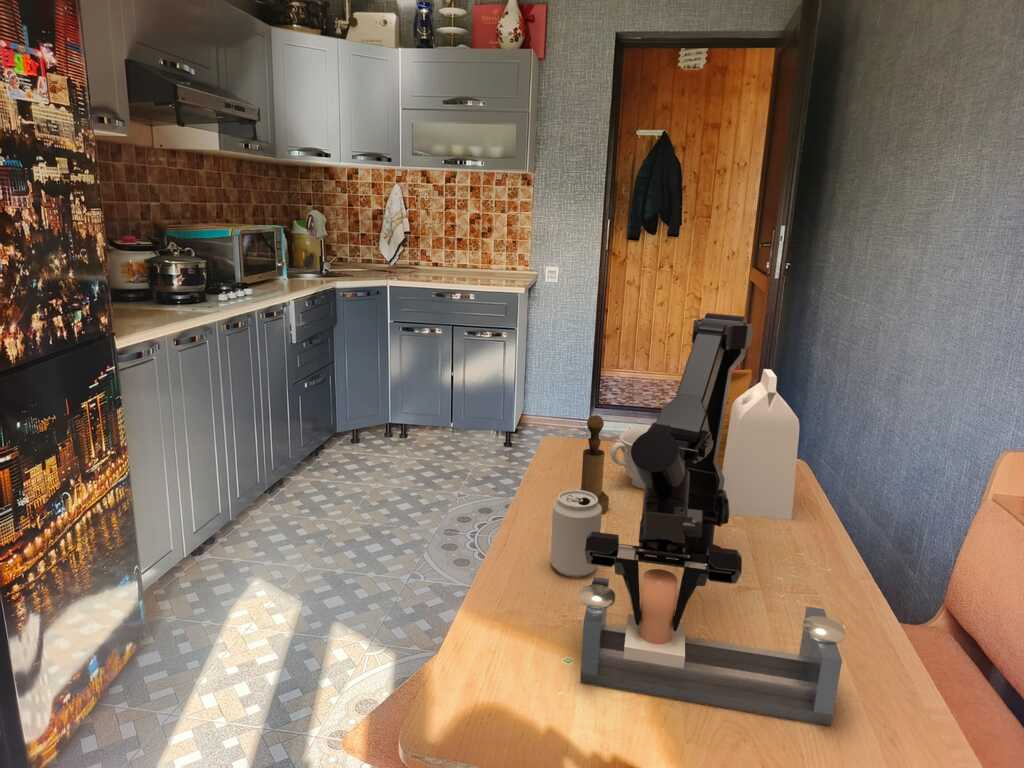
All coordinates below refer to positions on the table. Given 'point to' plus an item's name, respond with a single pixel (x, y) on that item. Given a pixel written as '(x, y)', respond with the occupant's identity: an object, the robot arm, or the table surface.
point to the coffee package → (736, 389)
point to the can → (573, 531)
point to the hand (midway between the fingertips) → (656, 627)
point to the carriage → (656, 623)
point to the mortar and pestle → (594, 463)
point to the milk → (761, 453)
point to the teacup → (628, 454)
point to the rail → (720, 667)
